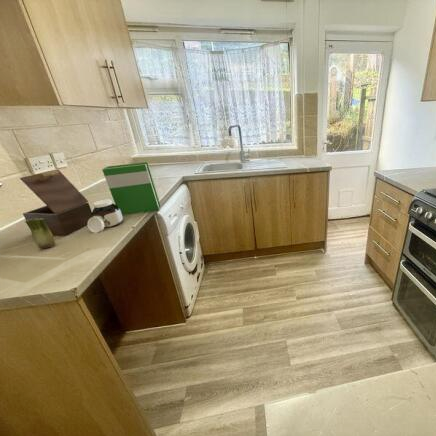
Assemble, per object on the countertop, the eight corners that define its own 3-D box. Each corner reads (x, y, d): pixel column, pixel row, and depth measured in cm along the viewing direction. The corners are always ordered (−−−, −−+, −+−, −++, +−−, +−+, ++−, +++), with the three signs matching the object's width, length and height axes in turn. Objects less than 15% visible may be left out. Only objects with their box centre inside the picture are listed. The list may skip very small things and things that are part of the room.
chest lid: (19, 178, 95) (25, 172, 93) (57, 170, 108) (63, 164, 106) (55, 214, 99) (61, 208, 98) (87, 202, 113) (93, 196, 111)
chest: (33, 234, 106) (22, 213, 102) (65, 220, 119) (57, 201, 115) (66, 236, 103) (56, 214, 99) (95, 221, 117) (88, 202, 113)
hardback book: (160, 206, 133) (147, 162, 123) (159, 210, 126) (145, 164, 116) (123, 212, 127) (106, 166, 117) (120, 217, 121) (102, 169, 111)
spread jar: (126, 220, 117) (117, 197, 112) (120, 230, 107) (110, 205, 102) (96, 225, 113) (86, 201, 108) (87, 235, 103) (76, 210, 99)
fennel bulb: (60, 244, 97) (45, 216, 92) (46, 250, 92) (30, 222, 87) (49, 242, 98) (35, 215, 93) (35, 249, 94) (19, 221, 89)
